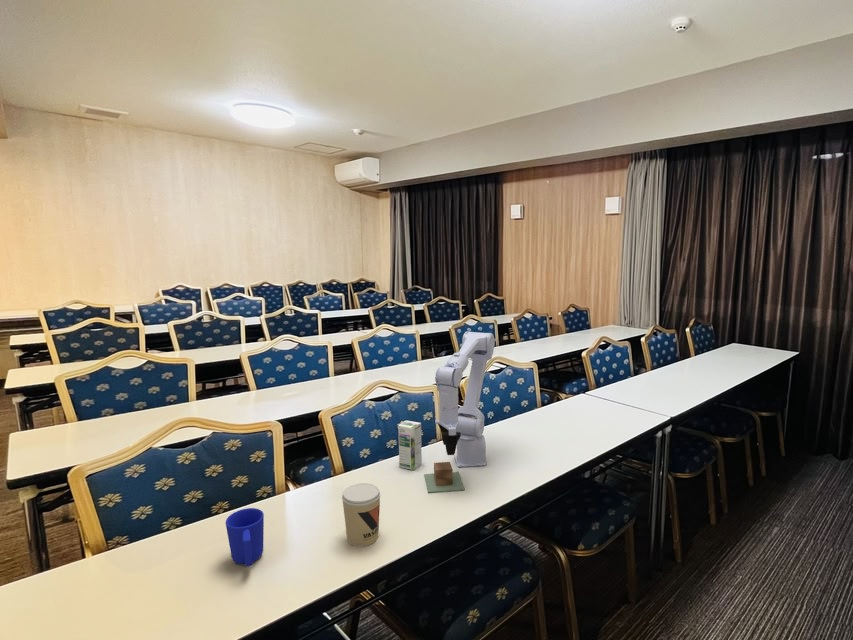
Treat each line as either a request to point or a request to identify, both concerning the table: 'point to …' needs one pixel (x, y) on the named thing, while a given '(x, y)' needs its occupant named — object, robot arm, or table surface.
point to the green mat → (446, 488)
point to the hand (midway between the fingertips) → (448, 449)
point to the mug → (246, 535)
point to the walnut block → (443, 473)
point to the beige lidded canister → (361, 513)
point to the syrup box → (410, 445)
